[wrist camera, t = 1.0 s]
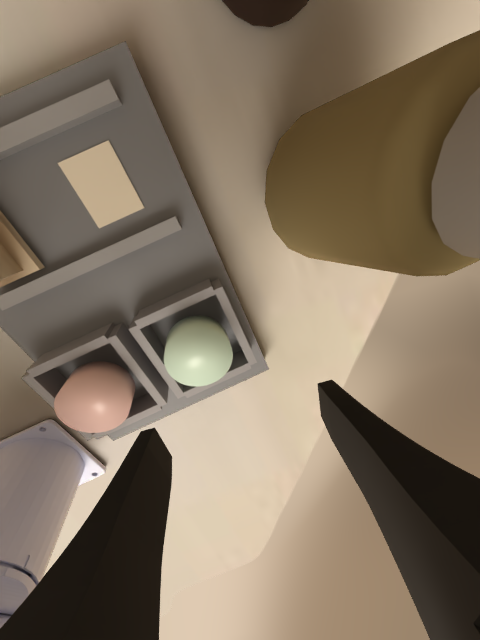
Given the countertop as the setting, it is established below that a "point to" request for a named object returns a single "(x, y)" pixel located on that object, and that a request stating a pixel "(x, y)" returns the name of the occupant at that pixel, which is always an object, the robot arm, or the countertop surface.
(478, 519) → the robot arm
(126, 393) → the pink button
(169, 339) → the mint button
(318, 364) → the countertop surface
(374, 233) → the squeeze bottle
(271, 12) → the vinegar
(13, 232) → the tan wooden step block
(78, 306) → the panel
